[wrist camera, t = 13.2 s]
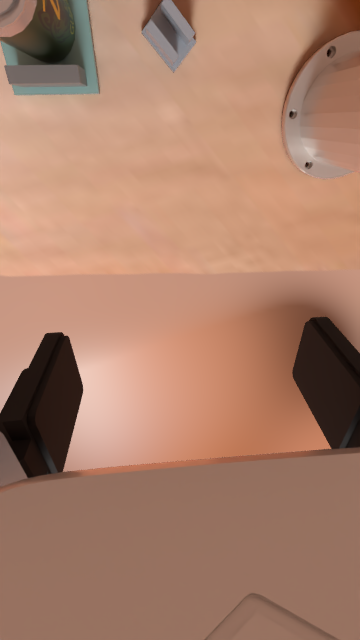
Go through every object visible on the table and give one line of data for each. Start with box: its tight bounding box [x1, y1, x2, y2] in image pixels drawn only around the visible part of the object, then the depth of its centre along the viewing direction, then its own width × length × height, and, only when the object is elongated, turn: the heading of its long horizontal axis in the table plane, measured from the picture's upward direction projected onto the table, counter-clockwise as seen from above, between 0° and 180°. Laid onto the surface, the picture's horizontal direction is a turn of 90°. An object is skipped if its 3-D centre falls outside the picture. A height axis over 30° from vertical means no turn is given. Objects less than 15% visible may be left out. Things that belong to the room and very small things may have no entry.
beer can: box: [0, 0, 76, 63], centre depth 21 cm, size 5×5×12 cm
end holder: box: [1, 0, 100, 95], centre depth 25 cm, size 8×10×4 cm
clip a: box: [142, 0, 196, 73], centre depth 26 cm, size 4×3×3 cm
